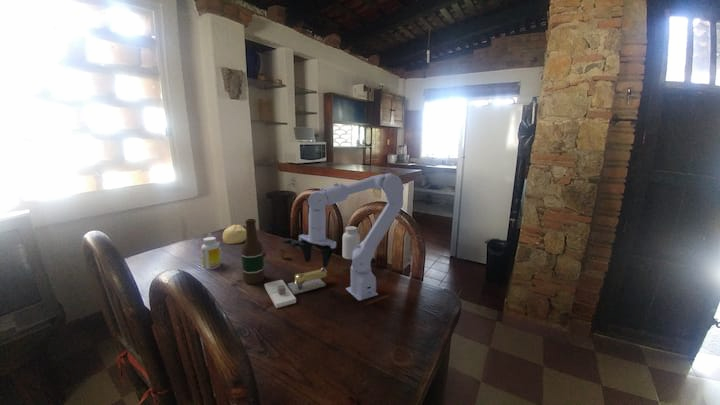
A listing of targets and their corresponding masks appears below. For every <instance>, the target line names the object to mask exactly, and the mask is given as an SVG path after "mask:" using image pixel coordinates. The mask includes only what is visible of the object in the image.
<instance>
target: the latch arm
mask: <svg viewBox="0 0 720 405" xmlns="http://www.w3.org/2000/svg"><path fill="white" fill-rule="evenodd" d="M327 276H328V275H327V269H326V267H323V266H322V267H320V269H317V270H312V271H309V272H308V271H307V272H304V273H303V272H302V273H301V272H299V273H296V274H294V282H295V283H296V284H302V283H304V282H307V281H311V280H315V279H319V278H320V279H323V278H326V277H327Z"/></svg>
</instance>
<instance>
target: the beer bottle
mask: <svg viewBox="0 0 720 405" xmlns="http://www.w3.org/2000/svg"><path fill="white" fill-rule="evenodd" d="M244 223H245V225H246V227H245V229H246V240H245V241H244V244H243V245H242V247H241V248H242V249H241V261H242V262H241V263H242V279H243V282H244V283H246V284H248V285H253V284H254V285H255V284H260V283H261V282H263V281H264V279H265V261H264V259H265V258H264V248H263V244H262V243H261V241H260V240H259V238H258V236H257V234H258V233H257V225H256V223H257V220H256V219H254V218H247V219H246V220H245V222H244Z"/></svg>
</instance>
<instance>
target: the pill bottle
mask: <svg viewBox="0 0 720 405" xmlns="http://www.w3.org/2000/svg"><path fill="white" fill-rule="evenodd" d="M360 241H361V236H360V233H359V232H358V227H356V226H353V225H352V226H346V227H345V231H344V233H343V234H342V251H341V252H342V253H341V254H342V257H343V258H344V259H346V260H352V251H353V250H354V249H355V248H356V247H358V246H359V245H360V243H361V242H360Z"/></svg>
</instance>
